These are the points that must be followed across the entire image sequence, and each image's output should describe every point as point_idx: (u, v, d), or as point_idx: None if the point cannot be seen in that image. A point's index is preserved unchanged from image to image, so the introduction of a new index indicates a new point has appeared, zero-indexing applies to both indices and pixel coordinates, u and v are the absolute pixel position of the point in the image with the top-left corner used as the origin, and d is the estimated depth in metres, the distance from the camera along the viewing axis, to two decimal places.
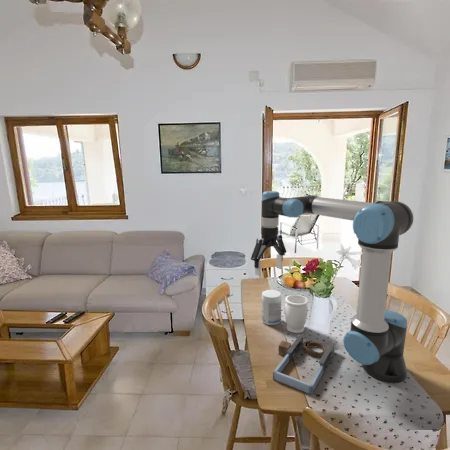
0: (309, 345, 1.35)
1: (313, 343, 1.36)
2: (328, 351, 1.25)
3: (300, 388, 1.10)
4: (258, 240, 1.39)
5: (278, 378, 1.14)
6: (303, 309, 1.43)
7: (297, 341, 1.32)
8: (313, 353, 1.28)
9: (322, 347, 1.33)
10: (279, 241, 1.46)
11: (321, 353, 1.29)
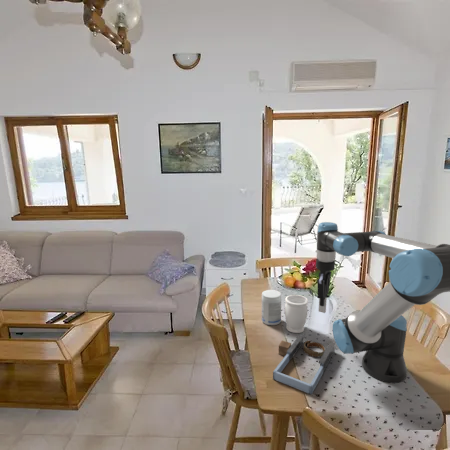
0: (309, 345, 1.35)
1: (313, 343, 1.36)
2: (328, 351, 1.25)
3: (300, 388, 1.10)
4: (320, 282, 1.29)
5: (278, 378, 1.14)
6: (303, 309, 1.43)
7: (297, 341, 1.32)
8: (313, 353, 1.28)
9: (322, 347, 1.33)
10: None
11: (321, 353, 1.29)
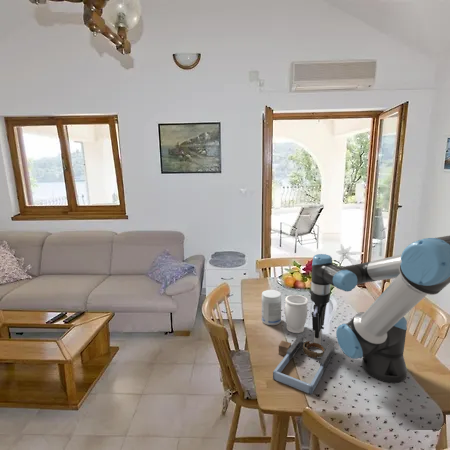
0: (308, 346, 1.34)
1: (312, 344, 1.35)
2: (328, 351, 1.25)
3: (300, 388, 1.10)
4: (314, 315, 1.27)
5: (278, 378, 1.14)
6: (303, 309, 1.43)
7: (297, 341, 1.32)
8: (313, 354, 1.28)
9: (321, 348, 1.33)
10: None
11: (321, 354, 1.28)
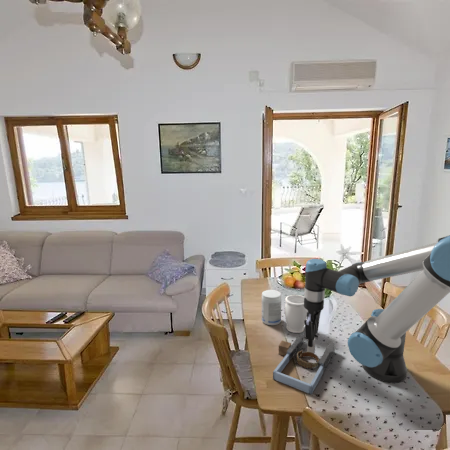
0: (302, 355, 1.28)
1: (306, 353, 1.28)
2: (328, 351, 1.25)
3: (300, 388, 1.10)
4: (307, 323, 1.21)
5: (278, 378, 1.14)
6: (303, 309, 1.43)
7: (297, 341, 1.32)
8: (307, 364, 1.21)
9: (315, 357, 1.26)
10: None
11: (316, 364, 1.22)
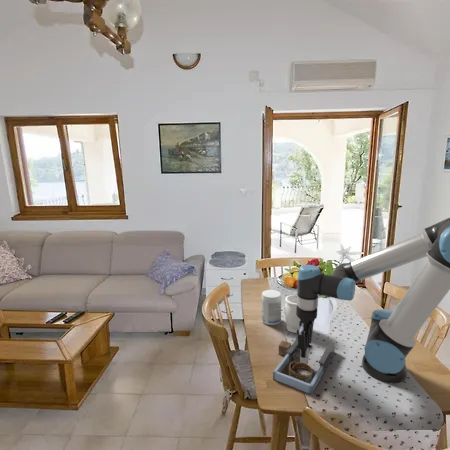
0: (294, 367, 1.21)
1: (298, 364, 1.22)
2: (328, 351, 1.25)
3: (300, 388, 1.10)
4: (300, 333, 1.14)
5: (278, 378, 1.14)
6: None
7: (297, 341, 1.32)
8: (300, 377, 1.14)
9: (309, 368, 1.20)
10: None
11: (309, 376, 1.15)
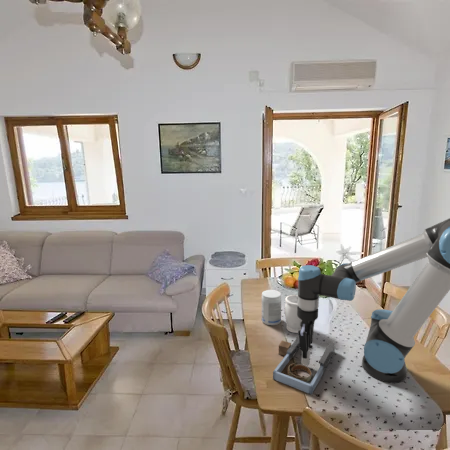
0: (293, 369, 1.20)
1: (297, 366, 1.21)
2: (328, 351, 1.25)
3: (300, 388, 1.10)
4: (301, 334, 1.14)
5: (278, 378, 1.14)
6: None
7: (297, 341, 1.32)
8: (299, 379, 1.14)
9: (308, 370, 1.19)
10: None
11: (308, 378, 1.14)
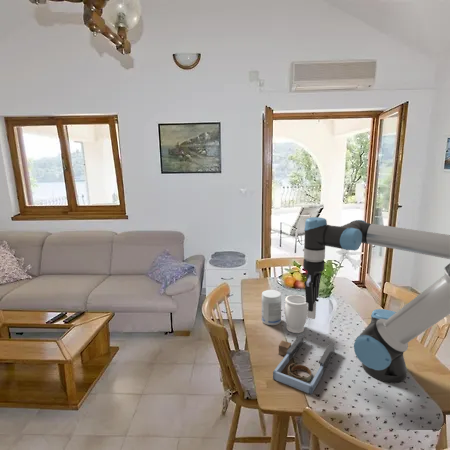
0: (293, 369, 1.20)
1: (297, 366, 1.21)
2: (328, 351, 1.25)
3: (300, 388, 1.10)
4: (307, 284, 1.15)
5: (278, 378, 1.14)
6: (303, 309, 1.43)
7: (297, 341, 1.32)
8: (299, 379, 1.14)
9: (308, 370, 1.19)
10: None
11: (308, 378, 1.14)
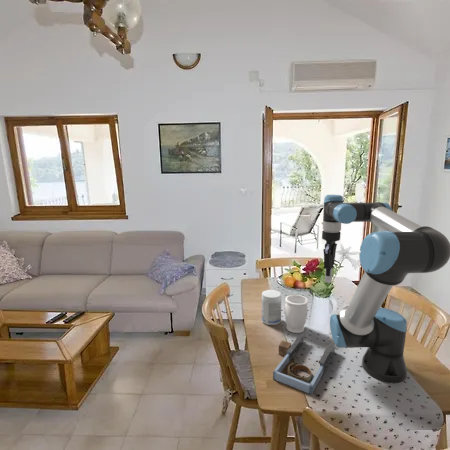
0: (293, 368, 1.20)
1: (297, 366, 1.21)
2: (328, 351, 1.25)
3: (300, 388, 1.10)
4: (326, 251, 1.34)
5: (278, 378, 1.14)
6: (303, 309, 1.43)
7: (297, 341, 1.32)
8: (299, 379, 1.14)
9: (308, 370, 1.19)
10: None
11: (308, 378, 1.14)
